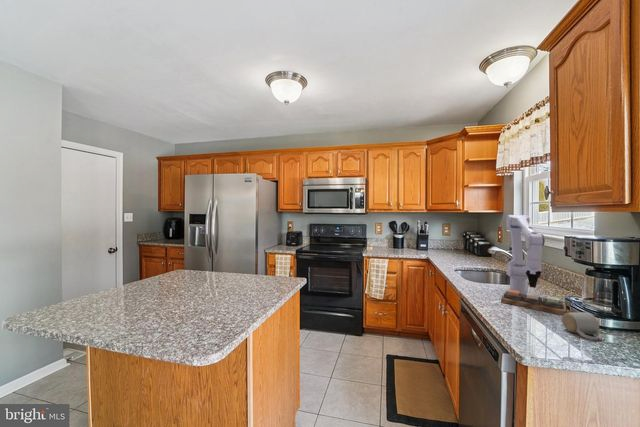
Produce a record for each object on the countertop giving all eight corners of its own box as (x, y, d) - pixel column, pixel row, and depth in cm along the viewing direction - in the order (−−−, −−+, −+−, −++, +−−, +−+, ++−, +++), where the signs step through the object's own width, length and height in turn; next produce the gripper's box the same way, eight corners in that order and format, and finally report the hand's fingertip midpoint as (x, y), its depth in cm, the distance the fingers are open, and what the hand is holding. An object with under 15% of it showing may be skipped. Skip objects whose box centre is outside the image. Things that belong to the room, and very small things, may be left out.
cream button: (526, 299, 131) (526, 294, 131) (527, 297, 135) (527, 292, 134) (538, 301, 128) (538, 296, 128) (538, 299, 132) (538, 294, 132)
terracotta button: (507, 295, 136) (508, 291, 136) (509, 293, 139) (509, 289, 139) (518, 297, 133) (518, 293, 133) (519, 295, 137) (519, 291, 137)
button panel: (501, 302, 135) (501, 294, 135) (504, 296, 144) (504, 289, 144) (565, 315, 119) (566, 306, 119) (565, 308, 128) (565, 300, 128)
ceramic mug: (559, 327, 107) (560, 308, 107) (582, 328, 106) (583, 309, 106) (582, 340, 97) (583, 319, 96) (607, 342, 96) (608, 321, 96)
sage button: (546, 303, 126) (546, 298, 126) (546, 300, 130) (546, 296, 130) (559, 305, 123) (559, 300, 123) (558, 303, 127) (559, 298, 127)
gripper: (524, 255, 139) (524, 281, 139) (522, 259, 128) (521, 287, 129) (542, 257, 134) (541, 284, 135) (541, 261, 124) (540, 291, 124)
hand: (532, 286), depth 131 cm, fingers open, 3 cm apart
